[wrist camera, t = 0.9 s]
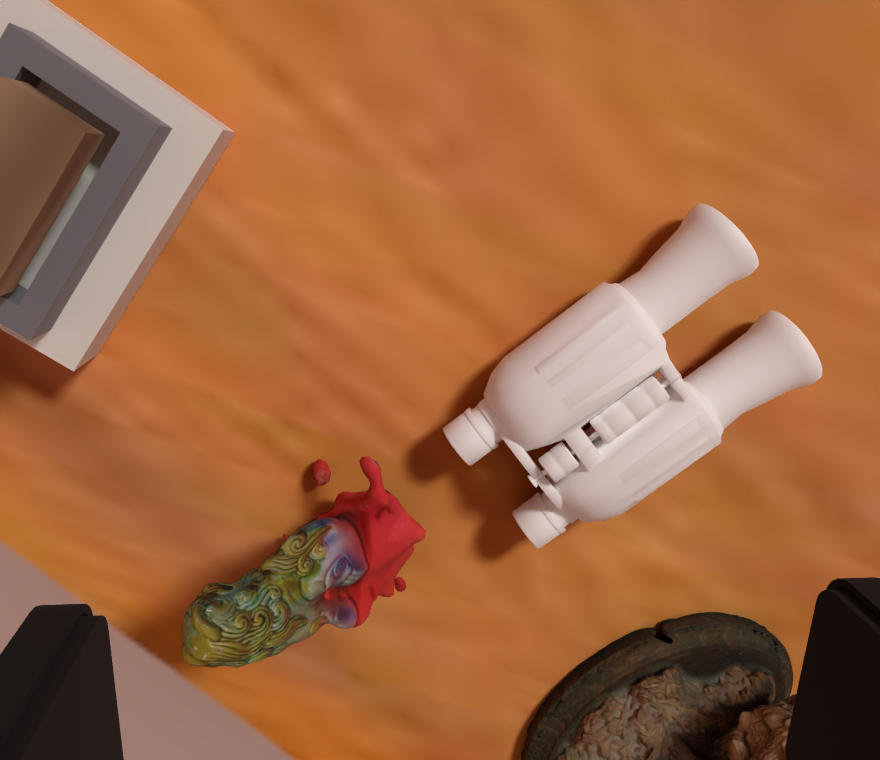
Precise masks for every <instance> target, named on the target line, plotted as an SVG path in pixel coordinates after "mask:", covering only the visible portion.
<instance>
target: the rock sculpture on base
mask: <svg viewBox="0 0 880 760" xmlns="http://www.w3.org/2000/svg"><path fill="white" fill-rule="evenodd" d="M661 628H662V631H663V633H664V634H665V635H667V636H668V637H670V638H671V639H672V640H673V643H672V644H669V643H666V642H663V641H661V640H659V639H656V638H655V637H654V636H655V634H656V631H655V630H654V629H653V628H645V629H640V630H636V631H634V632H632V633H630V634H628V635H626V636H624V637H623V638H621V639H619V640H617V641H616V642H614V643H612V644H611V645H609V646H608V647H606V648H604V649H603V650H601V651H600V652H599V653H597V654H595V655H594V656H592V657H591V658H589V659H588V660H586V661H585V662H583V663H582V664H581V665H579V666H578V668H577V669H576V670H574V671H573V672H572V673H571V674H570V675H569V676H568V677H567V678H566V679H565V680H564V681H563V682H562V683H561V684H560V685H559V686H558V687H557V688H556V689H555V690H554V691H553V692H552V693H551V695H550V696H549V697H548V698H547V699H546V701H545V702H544V704H542V706H541V707H540V709H539V710H538V713H537V714H536V716H535V718H534V721H532V723H531V725H530V726H529V729H527V730H528V732H527V733H528V736H527V738H526V740H527V741H526V746H525V747H526V749H525V750H523V752H522V758H521V759H522V760H786V758H785V745H786V741H787V736H788V731H789V727H790V722H791V717H792V713H793V708H794V703H795V699H796V694H795V695H792V696H791V697H790V694H791V690H792V685H793V671H792V665H791V662H790V658H789V655H788V653H787V651H786V649H785V647H784V646H783V645H782V644H781V642H780V641H779V640H778V638H776V637H775V636H774V635H773V634H772V633H770V632H769V631H768V630H766V628H765V627H764V626H760V625H759V624H757V623H756V622H754V621H752V620H750V619H747V618H744V617H739V616H738V615H729V614H725V613H720V612H705V613H696V614H691V615H687V616H684V617H681V618H679V619H668V620H666V621H663V622H662V625H661ZM738 718H739V719H738ZM737 719H738V720H737Z"/></svg>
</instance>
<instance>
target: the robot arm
mask: <svg viewBox="0 0 880 760" xmlns="http://www.w3.org/2000/svg"><path fill="white" fill-rule="evenodd" d="M785 758H786V760H880V578H874V577H872V578H842V579H835V580H833V581H832V582H831V583H830V584H829V585H828V587H827V590H824V591H822V592H821V593H820V594H819V595H818V598H817V600H816V605H815V610H814V614H813V619H812V624H811V628H810V633H809V638H808V642H807V647H806V652H805V656H804V661H803V666H802V671H801V675H800V680H799V685H798V689H797V694H796V699H795V703H794V708H793V713H792V717H791V722H790V727H789V731H788V736H787V741H786V745H785ZM0 760H124V759H123V752H122V742H121V734H120V726H119V716H118V708H117V700H116V691H115V683H114V674H113V665H112V656H111V648H110V640H109V631H108V624H107V620H106V618H105V617H104V616H103V615H102V616H93V614H92V610H91V608H90V606H88V605H87V604H66V605H40V606H37V607H35V608H34V609H33V610H32V611H31V612H30V613H29V615H28V616H27V617H26V619H25V620H24V622H23V623H22V625H21V626H20V628H19V629H18V630H17V632H16V633H15V635H14V636H13V637H12V639H11V640H10V642H9V643H8V645H7V646H6V647H5V649H4V650H3V652H2V653H1V654H0Z"/></svg>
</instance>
